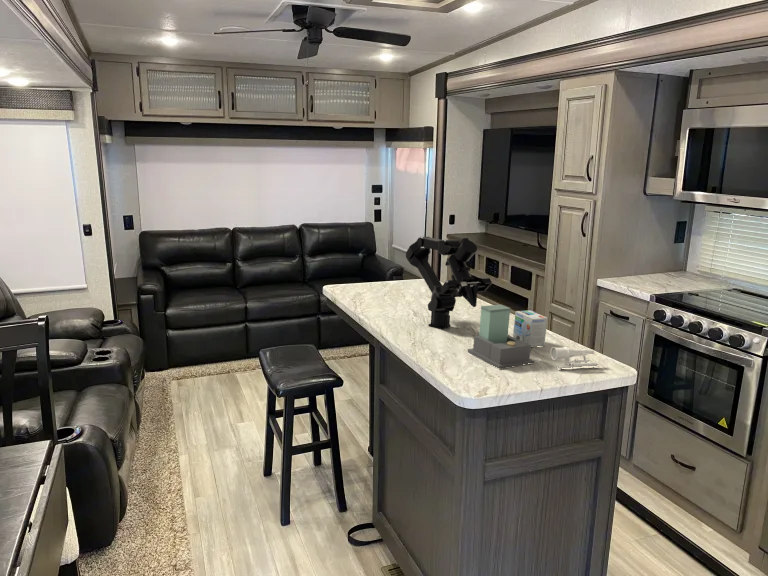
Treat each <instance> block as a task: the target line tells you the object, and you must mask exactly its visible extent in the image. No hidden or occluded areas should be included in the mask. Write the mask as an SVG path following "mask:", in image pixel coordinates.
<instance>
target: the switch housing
mask: <svg viewBox="0 0 768 576" xmlns="http://www.w3.org/2000/svg"><path fill="white" fill-rule="evenodd" d="M472 347H473V348H472ZM472 347H471V348H467V353H469V354H471V355H472V356H475V357H476V358H478V359H480V360H482V361H484V362H485V363H487V364H489V365H491V366H492V365H493V367H494V366H495V367H494V368H496V367H497V368H496V369H498V368H503V369H507V368H506V367H510V368H513V367H512V366H516V367H519V366H518V365H522V366H524V365H523V364H528V363H534V364H535V360H533V359H531V357H530V356H531V349H532V348H531V345H529V344H527V343H525V342H523V341H520V340H518V339H516V338H514V337H513V335H512V336H511V335H509V334H508V337H507V342H505V343H498V344H495V343H493V342H491V341H489V340H487V339H485V338H483V337H481V336H479V334H478V335H474V336H473V346H472Z"/></svg>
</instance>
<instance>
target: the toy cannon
mask: <svg viewBox="0 0 768 576" xmlns="http://www.w3.org/2000/svg"><path fill="white" fill-rule="evenodd" d="M549 351H550V352H549V354H550V357H551V360H553V361H556V360H562V359H563V362H564V365H556V368H557V367H558V368H559V369H562V368H571V367H572V368H573V367H582V366H597V365H599V363H598V362H596V361H594V362H591V361H590V359H587V358H586V355H594V354H595V350H594V349H584V348H575V349H574V348H570V347H568V346H564V347H556V346H552V347H551V348H550V350H549ZM579 356H580V357H582V359H578V357H579ZM572 357H575V358H574V360H571V359H570V358H572Z"/></svg>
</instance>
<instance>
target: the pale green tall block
mask: <svg viewBox="0 0 768 576" xmlns="http://www.w3.org/2000/svg"><path fill="white" fill-rule="evenodd" d="M510 313H511V307H510V306H509V307H508V306H506V305H504V304H490V305H481V306H480V320H479V330H478V332H479V333H478V335H479V336H481V337H483V338H485V339H487V340H489V341H491V342H493V343H495V344H498V343H505V342H507V337H508V335H509V327H510V326H509V325H510V317H511V314H510Z"/></svg>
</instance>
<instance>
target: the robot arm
mask: <svg viewBox="0 0 768 576" xmlns="http://www.w3.org/2000/svg"><path fill="white" fill-rule="evenodd" d="M431 250H435V251H437V253H438V254H440V255H442V256H449V257H448V258H447V259H446V262H445V264H444V265H445V266H446V267H447V266H449V268H450V271H451V274H452V275H451V279H447V280H445V282H444V283H442V282H441V280H440V279H439V278H438V276H437V274H436V272H435V271H434V269H433V268H432V265H431V264H430V263H429V258H430V256H429V255H430V254H431ZM477 250H478V247H477V244H476V243H474V242H473V241H471V240H470V239H469V238H468V237H463V238H462V239H461V241H460V240H459V239H441V238H440V239H439V238H434V237H431V236H420V237H417V239H416V241H415V242H413V243H412V244H411V245H409V247H408V248H407V250H406V253H405V259H406V260H407V261H408V262H409V264H410V265H411V266H413V267H415V268H417V270H418V271H419V273H420V275H421V277H422V278H423V280H424V282H425V283H426V285H427V287H428V288H429V289H428V290H429V291H430V292H431V296H430V301H429V302H428V303H427V310H428V311H429V312H431V314H430V323H428V324H427V325H428V327H433V328H437V329H441V330H444V329H446V328H448V327H451V326H452V325H451V324H450V322H451V315H450V312H453V311H454V308H455V305H456V302H457V300H456V298H462V297H463V299H465V300H466V301H467V302H468V304H469V305H471V307H472V308H476V307H477V305H478V303H477V302H478V300H477V299H478V293H484V292H487V290H488V289H489V288H490V287H491V286H492V284H493V282H492V279H491V278H490V277H480V278H479V279H478V280H477V281H475V276H472V275H471V273H470V271H471V267H470V266H467V264H466V263H468V262H469V261H470V259H471V258H472V257H473V256H474V255H475V253H477Z"/></svg>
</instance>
